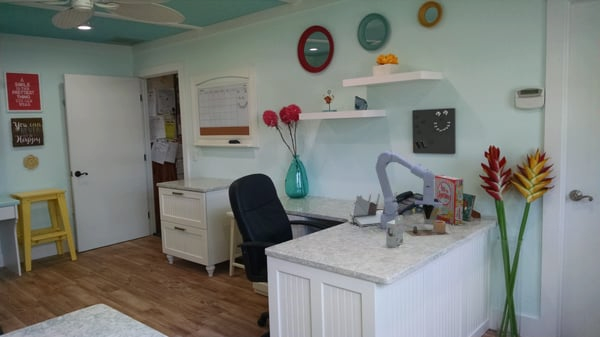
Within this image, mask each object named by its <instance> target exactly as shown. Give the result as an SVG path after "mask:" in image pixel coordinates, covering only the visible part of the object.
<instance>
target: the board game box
mask: <svg viewBox="0 0 600 337" xmlns="http://www.w3.org/2000/svg"><path fill="white" fill-rule="evenodd" d="M434 198H435V199H438V201H439V203H442V207H438V212H437V219H436V220H438V219H439V221H441V220H442V221H445V223H446V222H448V223H447V224H449V223H451V224H450V225H452V224H454V225H453V226H456V225H455V224H462V225H463V212H464V211H463V209H464V208H463V206H464V205H463V204H464V178H459V177H453V176H450V175H449V176H448V175H445V174H440V175H439V174H438V175H437V174H435V179H434Z"/></svg>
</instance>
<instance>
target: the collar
mask: <svg viewBox="0 0 600 337" xmlns="http://www.w3.org/2000/svg"><path fill="white" fill-rule="evenodd" d="M432 226H433V227H432V228H433V229H432V230H434V232H447V231H446V222H444V221H441V220H439V221H437V220H436V221H433V224H432Z"/></svg>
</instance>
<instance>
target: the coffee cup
mask: <svg viewBox="0 0 600 337" xmlns="http://www.w3.org/2000/svg"><path fill="white" fill-rule="evenodd" d="M421 201H423V199H422V200H421ZM434 202H438V203H439V201H438V199H435V197H434ZM429 205H430V204H429ZM437 212H438V207H437V206H434V209H433V211H432V213H431V216H430V219H426V216H425V212H424V210H423V209H422V213H423V214H422V216H423V222H424V225H433V221H437V220H438V219H437Z"/></svg>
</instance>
